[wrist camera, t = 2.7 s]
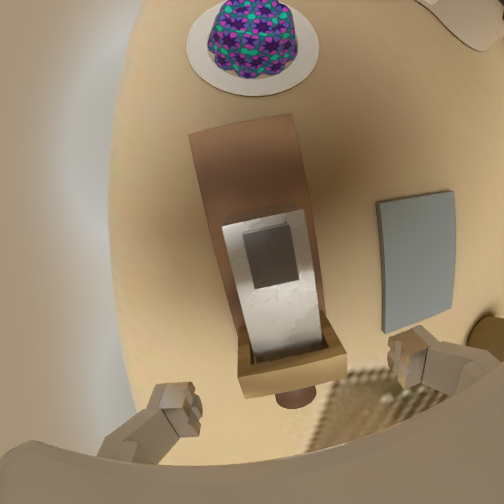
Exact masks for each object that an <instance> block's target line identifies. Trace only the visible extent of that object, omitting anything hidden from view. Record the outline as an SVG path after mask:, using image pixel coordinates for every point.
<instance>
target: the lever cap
mask: <svg viewBox="0 0 504 504" xmlns="http://www.w3.org/2000/svg"><path fill="white" fill-rule="evenodd" d="M222 230H223V235H224V239H225V243H226V247H227V251H228V255H229V259H230V263H231V268H232V272H233V276H234V280H235V284H236V288H237V292H238V296H239V299H240V303H241V307H242V311H243V315H244V319H245V323H246V327H247V330H248V334H249V338H250V342H251V345H252V349H253V353H254V357H255V360H256V364H259V363H264V362H269V361H274V360H279V359H284V358H289V357H293V356H298V355H302V354H306V353H310V352H314V351H318V350H322V349H323V344H322V334H321V325H320V316H319V307H318V299H317V291H316V284H315V277H314V269H313V263H312V256H311V249H310V243H309V237H308V231H307V225H306V219H305V213H304V209H302V208H300V207H298V206H296V205H294V204H292V203H287V204H282V205H277V206H272V207H267V208H262V209H258V210H253V211H248V212H244V213H239V214H234V215H230V216H226V218H225V220H224V222H223V225H222Z"/></svg>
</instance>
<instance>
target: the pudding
mask: <svg viewBox="0 0 504 504" xmlns="http://www.w3.org/2000/svg"><path fill="white" fill-rule="evenodd" d="M211 30H212V31H211ZM210 31H211V34H210V37H209V41H208V44H207V38H208V36H209V33H210ZM295 34H296V35H295ZM296 36H297V39H298V53H297V43H296ZM207 45H208V48H209V51H211V52H212V53H214V54H216V55H215V63H216V64H217V66H218V67H220V68H222V69H223V70H234V71H235V72H236V73H237V74H238V75H239V76H240V77H244V78H256V77H257V76H259V75H260V74H262V73H263V74H267V75H274V76H272V77H268V78H263V79H244V78H239V77H236V76H232V75H230V74H228V73H226V72H224V71H222V70H221V69H220V68H218V67H217V66H216V65H215V64H214V63H213V61H212V60H211V58H210V57H209V54H208V51H207ZM186 49H187V56H188V59H189V62H190V64H191V65H192V67H193V69H194V70H195V72H196V73H197V74H198V75H199V76H200V77H201V78H202V79H204V80H205V81H206V82H208V83H209V84H210V85H212V86H214V87H216V88H218V89H220V90H223V91H226V92H229V93H233V94H238V95H244V96H262V95H271V94H275V93H279V92H282V91H285V90H287V89H290V88H292V87H294V86H295V85H297V84H299V83H300V82H301V81H303V80H304V79H305V78H306V77H307V76H308V75H309V74H310V72H311V71H312V70H313V68H314V67H315V64H316V62H317V60H318V55H319V41H318V37H317V34H316V32H315V30H314V28H313V26H312V25H311V23H310V22H309V21H308V20H307V18H306V17H304V16H303V15H302V14H301V13H300V12H299V11H297V10H296V9H294V8H293V7H291V6H289V5H287V4H285V3H283V2H280V1H278V0H226V1H224V2H221V3H218V4H216V5H215V6H213V7H211V8H209V9H208V10H207V11H205V12H204V13H203V14H202V15H201V16H200V17H199V18H198V19H197V20H196V21H195V22H194V24H193V25H192V27H191V29H190V31H189V34H188V36H187V43H186ZM296 55H297V56H296ZM295 56H296V58H295ZM294 58H295V60H294V61H293V63H292V64H291V65H290V66H289V67H288V68H287V69H286V70H284V67H285V62H288V61H291V60H293V59H294ZM282 70H284V71H283V72H281V71H282ZM280 72H281V73H280ZM278 73H279V74H278ZM275 74H277V75H275Z"/></svg>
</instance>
